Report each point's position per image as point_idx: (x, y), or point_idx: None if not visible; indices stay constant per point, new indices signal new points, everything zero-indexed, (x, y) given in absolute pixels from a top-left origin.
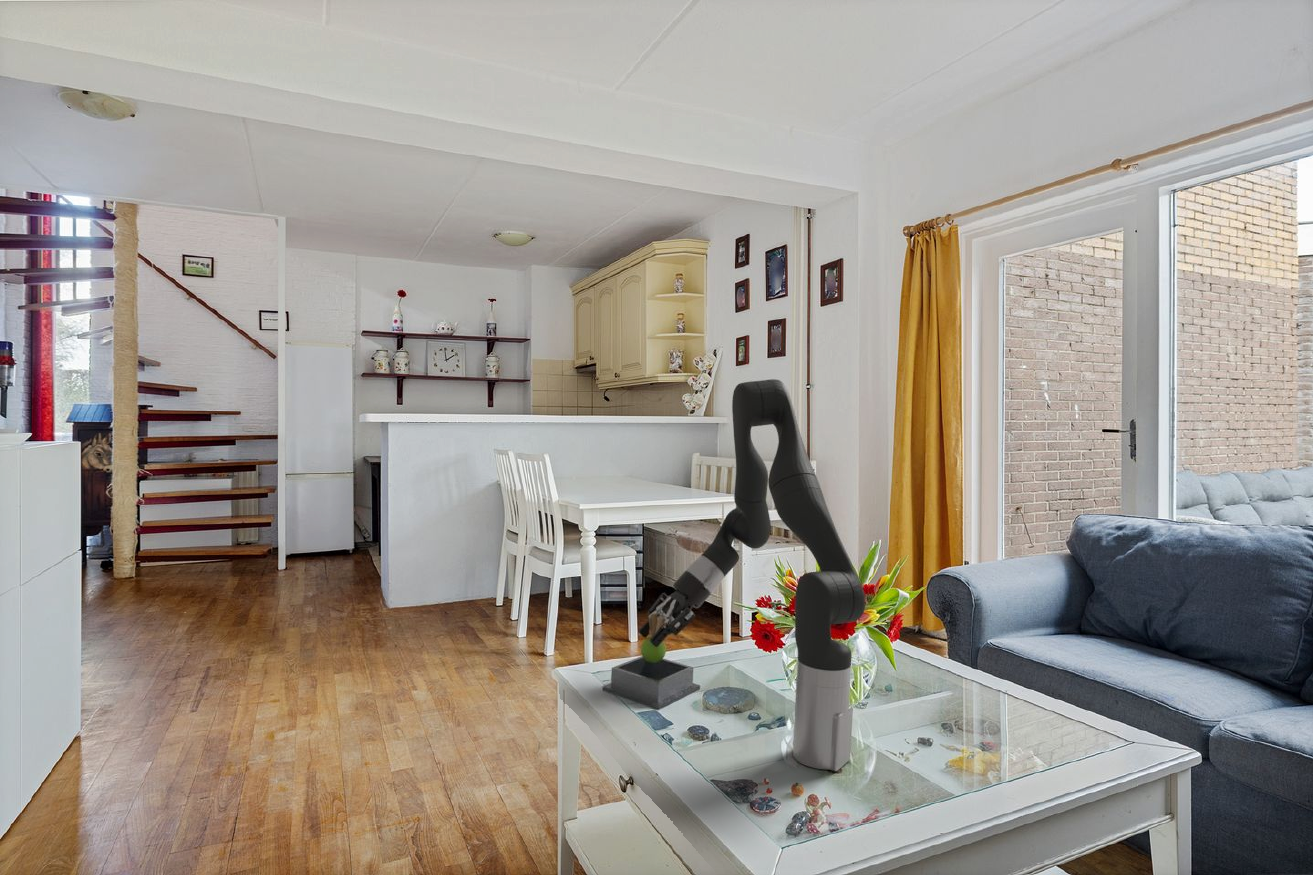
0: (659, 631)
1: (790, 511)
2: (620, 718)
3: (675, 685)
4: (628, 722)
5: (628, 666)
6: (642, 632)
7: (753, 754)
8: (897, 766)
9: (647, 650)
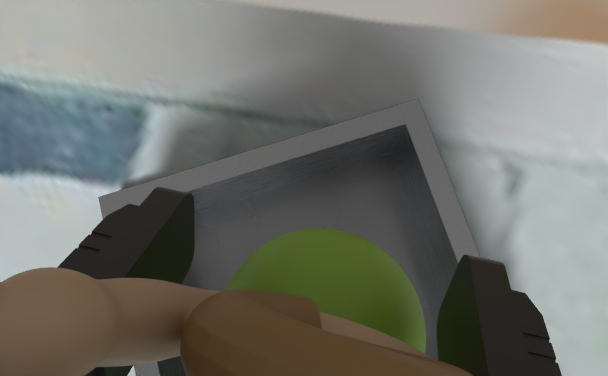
0: (87, 271)
1: None
2: (139, 30)
3: None
4: (95, 36)
5: (438, 226)
6: (456, 288)
7: None
8: None
9: (276, 238)
